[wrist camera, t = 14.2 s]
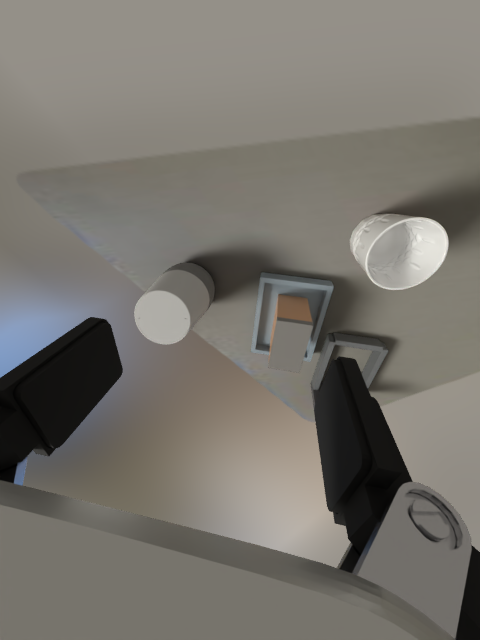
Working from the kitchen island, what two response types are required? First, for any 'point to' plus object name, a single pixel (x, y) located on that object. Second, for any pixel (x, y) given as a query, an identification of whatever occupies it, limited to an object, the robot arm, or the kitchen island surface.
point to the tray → (291, 286)
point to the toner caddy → (290, 333)
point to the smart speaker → (174, 303)
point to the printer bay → (355, 342)
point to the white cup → (399, 249)
